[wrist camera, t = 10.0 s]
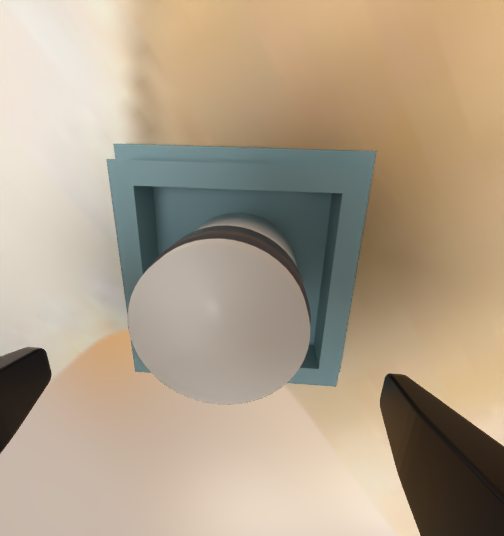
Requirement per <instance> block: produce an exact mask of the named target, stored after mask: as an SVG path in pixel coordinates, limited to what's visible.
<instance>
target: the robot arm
mask: <svg viewBox="0 0 504 536" xmlns="http://www.w3.org/2000/svg"><path fill="white" fill-rule="evenodd" d="M50 379H51V369H50V365H49V361H48V357H47V354H46V351H45V350H44V349H42V348H34V347H27V348H23V349H20V350H18V351H15V352H12V353H9V354H7V355H4V356H1V357H0V453H1V452H2V451H3V449H4V448H5V447H6V445H7V444H8V443H9V441H10V440H11V439H12V437H13V436H14V434H15V433H16V431H17V430H18V429H19V427H20V426H21V424H22V423H23V421H24V420H25V418H26V417H27V415H28V414H29V412H30V410H31V409H32V407H33V406H34V404H35V403H36V401H37V400H38V398H39V397H40V395H41V394H42V392H43V391H44V389H45V388H46V386H47V385H48V383H49V381H50ZM380 408H381V412H382V416H383V420H384V424H385V427H386V431H387V435H388V439H389V442H390V446H391V450H392V454H393V458H394V461H395V465H396V468H397V472H398V475H399V478H400V481H401V484H402V487H403V489H404V492H405V495H406V497H407V500H408V503H409V506H410V508H411V511H412V514H413V516H414V519H415V522H416V524H417V527H418V530H419V532H420V535H421V536H504V446H502V445H501V444H500V443H498V442H497V441H496V440H494V439H493V438H491V437H490V436H489V435H487V434H486V433H485V432H483V431H482V430H480V429H479V428H478V427H476V426H475V425H473V424H472V423H471V422H469V421H468V420H467V419H465V418H464V417H462V416H461V415H460V414H458V413H457V412H456V411H454V410H453V409H451V408H450V407H449V406H447V405H446V404H444V403H443V402H442V401H440V400H439V399H438V398H436V397H435V396H433V395H432V394H431V393H429V392H428V391H427V390H425V389H424V388H422V387H421V386H420V385H418V384H417V383H415V382H414V381H413V380H411V379H410V378H409V377H407V376H406V375H402V374H388V375H386V377H385V380H384V384H383V389H382V393H381V397H380Z"/></svg>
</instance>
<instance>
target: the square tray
mask: <svg viewBox="0 0 504 536" xmlns="http://www.w3.org/2000/svg"><path fill="white" fill-rule="evenodd" d="M114 151H115V159H107V166H108V174H109V181H110V188H111V196H112V203H113V211H114V218H115V225H116V233H117V240H118V248H119V255H120V262H121V270H122V277H123V285H124V292H125V299H126V307H127V314H128V308H129V303H130V299H131V295H132V293H133V291H134V288H135V286H136V284H137V283H138V281H139V279H140V278H141V277H142V275H143V274H144V273H145V271H146V269H147V268H148V267H149V265H150V264H151V263H152V262H153V261H154V260H155V259H156V258H157V257H158V256H159V255H160V254H161V253H163V252H164V251H165V250H166V249H168V248H169V247H170V246H172V245H173V244H174V243H175V242H177V241H178V240H179V239H181V238H183V237H184V236H186V235H187V234H189V233H192V232H193V231H195V230H196V229H197V228H198V227H199V226H201V225H202V224H203V223H205V222H206V221H208V220H209V219H212V218H214V217H216V216H219V215H222V214H227V213H247V214H251V215H255V216H258V217H261V218H263V219H265V220H267V221H268V222H270V223H271V224H273V225H274V226H276V227H277V228H278V229H279V230H280V231H281V232H282V233H283V235H284V236H285V237H286V238H287V240H288V242H289V243H290V245H291V248H292V250H293V253H294V256H295V260H296V264H297V268H298V270H299V272H300V274H301V277H302V279H303V283H304V287H305V291H306V295H307V299H308V302H309V306H310V315H311V325H310V341H309V347H308V351H307V353H306V356H305V359H304V361H303V363H302V365H301V366H300V368H299V370H298V371H297V372H296V374H295V375H294V376H293V377H292V378H291V379H290V380H289V381H288V382H287V383H295V384H309V385H322V386H336V385H337V379H338V373H339V372H340V367H341V361H342V355H343V349H344V343H345V337H346V331H347V325H348V319H349V313H350V307H351V301H352V295H353V289H354V283H355V277H356V271H357V265H358V259H359V253H360V247H361V241H362V235H363V229H364V223H365V217H366V211H367V205H368V199H369V193H370V187H371V181H372V175H373V169H374V163H375V157H376V151H352V150H317V149H282V148H247V147H212V146H177V145H142V144H114ZM131 344H132V351H133V359H134V365H135V371H136V372H149V373H151V372H150V371H149V370H148V369H147V367H146V366H145V365H144V364H143V362H142V361H141V359H140V358H139V356H138V354H137V352H136V350H135V348H134V346H133V343H132V340H131Z"/></svg>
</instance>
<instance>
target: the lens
mask: <svg viewBox="0 0 504 536" xmlns="http://www.w3.org/2000/svg"><path fill="white" fill-rule="evenodd" d="M310 325H311V315H310V306H309V302H308V299H307V295H306V291H305V287H304V283H303V279H302V277H301V274H300V272H299V270H298V268H297V264H296V260H295V256H294V253H293V250H292V248H291V245H290V243H289V242H288V240H287V238H286V237H285V236H284V235H283V233H282V232H281V231H280V230H279V229H278V228H277V227H276V226H274V225H273V224H271V223H270V222H268V221H267V220H265V219H263V218H261V217H258V216H255V215H251V214H247V213H227V214H222V215H219V216H216V217H214V218H212V219H209V220H208V221H206V222H205V223H203V224H202V225H201V226H199V227H198V228H197V229H196V230H195V231H193V232H192V233H189V234H187V235H186V236H184V237H183V238H181V239H179V240H178V241H177V242H175V243H174V244H173V245H172V246H170V247H169V248H168V249H166V250H165V251H164V252H163V253H161V254H160V255H159V256H158V257H157V258H156V259H155V260H154V261H153V262H152V263H151V264H150V265H149V267H148V268H147V269H146V271H145V273H144V274H143V275H142V277H141V278H140V279H139V281H138V283H137V284H136V286H135V288H134V291H133V293H132V295H131V299H130V303H129V308H128V328H129V333H130V337H131V340H132V343H133V346H134V348H135V350H136V352H137V354H138V356H139V358H140V359H141V361H142V362H143V364H144V365H145V366H146V367H147V369H148V370H149V371H150V372H151V373H152V374H153V375H154V376H155V377H156V378H157V379H158V380H160V381H161V382H162V383H164V384H165V385H166V386H168V387H169V388H171V389H173V390H174V391H176V392H178V393H180V394H182V395H184V396H186V397H189V398H192V399H195V400H198V401H202V402H206V403H213V404H228V405H230V404H241V403H246V402H251V401H255V400H258V399H261V398H263V397H265V396H268V395H270V394H272V393H273V392H275V391H277V390H278V389H280V388H281V387H282V386H284V385H285V384H286V383H287V382H288V381H289V380H290V379H291V378H292V377H293V376H294V375H295V374H296V372H297V371H298V370H299V368H300V366H301V365H302V363H303V361H304V359H305V356H306V353H307V351H308V347H309V341H310Z"/></svg>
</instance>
